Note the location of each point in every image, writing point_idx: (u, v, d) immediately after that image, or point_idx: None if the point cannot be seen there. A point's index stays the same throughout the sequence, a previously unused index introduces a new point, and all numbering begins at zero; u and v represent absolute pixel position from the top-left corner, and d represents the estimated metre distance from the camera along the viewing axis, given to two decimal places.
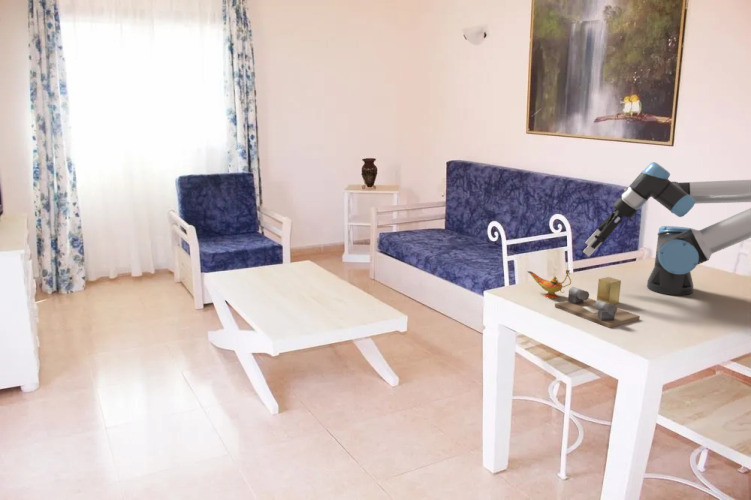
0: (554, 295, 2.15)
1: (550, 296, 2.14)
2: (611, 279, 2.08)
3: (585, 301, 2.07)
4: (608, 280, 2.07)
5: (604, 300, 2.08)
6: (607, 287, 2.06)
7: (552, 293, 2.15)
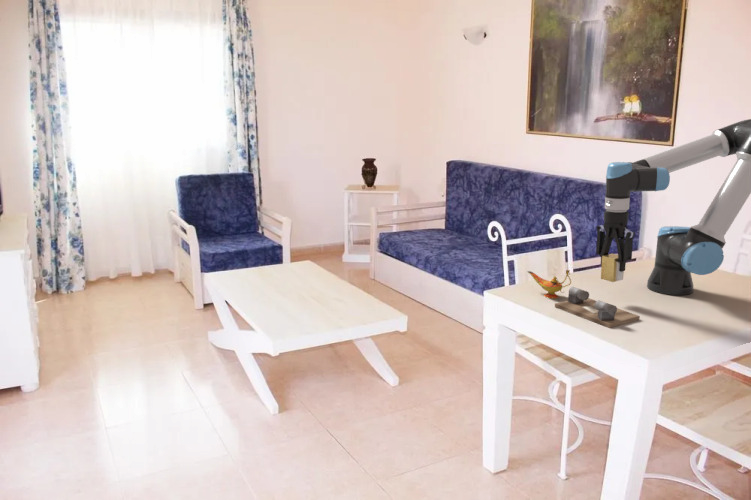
0: (554, 295, 2.15)
1: (550, 296, 2.14)
2: (615, 255, 2.06)
3: (585, 301, 2.07)
4: (612, 256, 2.05)
5: (608, 277, 2.06)
6: (611, 263, 2.04)
7: (552, 293, 2.15)
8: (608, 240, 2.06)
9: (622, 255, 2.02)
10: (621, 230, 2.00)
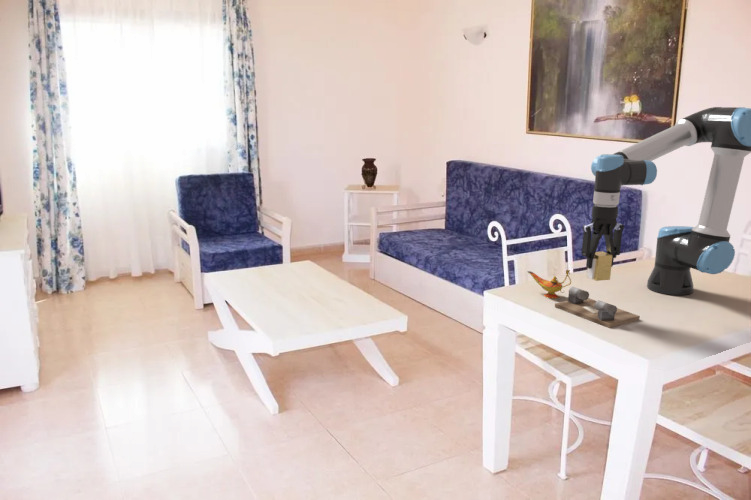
0: (554, 295, 2.15)
1: (550, 296, 2.14)
2: (599, 253, 1.95)
3: (585, 301, 2.07)
4: (603, 254, 1.94)
5: (605, 276, 1.94)
6: (609, 261, 1.93)
7: (552, 293, 2.15)
8: None
9: None
10: (615, 224, 1.92)
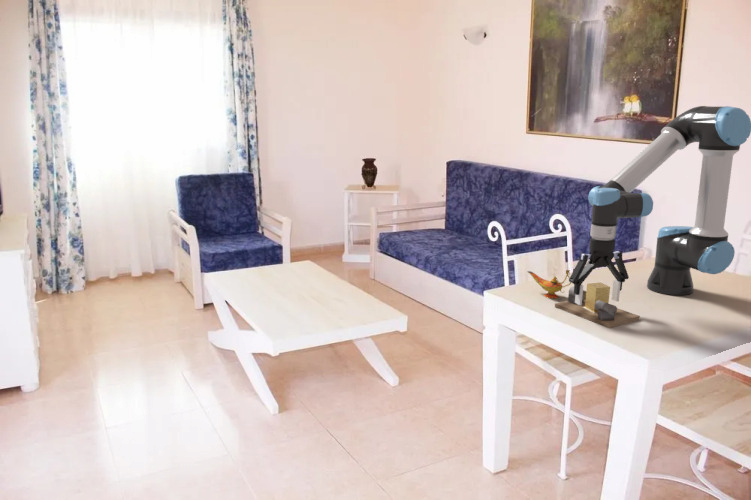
0: (554, 295, 2.15)
1: (550, 296, 2.14)
2: (597, 284, 1.98)
3: None
4: (601, 286, 1.96)
5: None
6: (606, 292, 1.96)
7: (552, 293, 2.15)
8: None
9: None
10: (612, 256, 1.95)
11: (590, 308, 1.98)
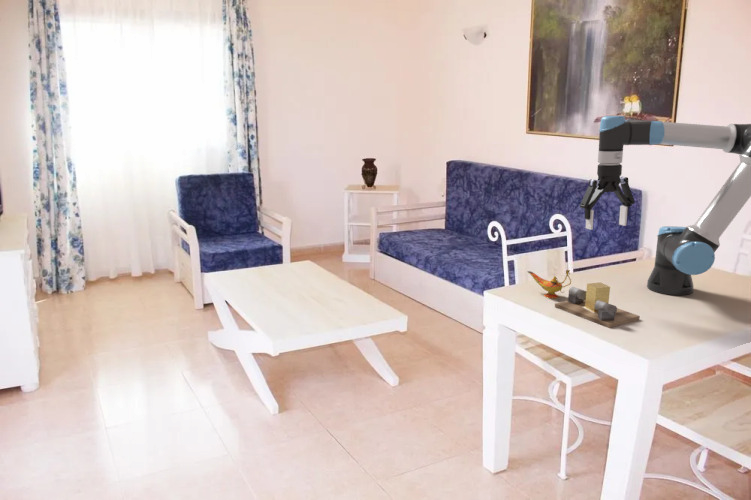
0: (554, 295, 2.15)
1: (550, 296, 2.14)
2: (597, 284, 1.98)
3: None
4: (601, 286, 1.96)
5: None
6: (606, 292, 1.96)
7: (552, 293, 2.15)
8: None
9: None
10: (619, 181, 2.04)
11: (590, 308, 1.98)
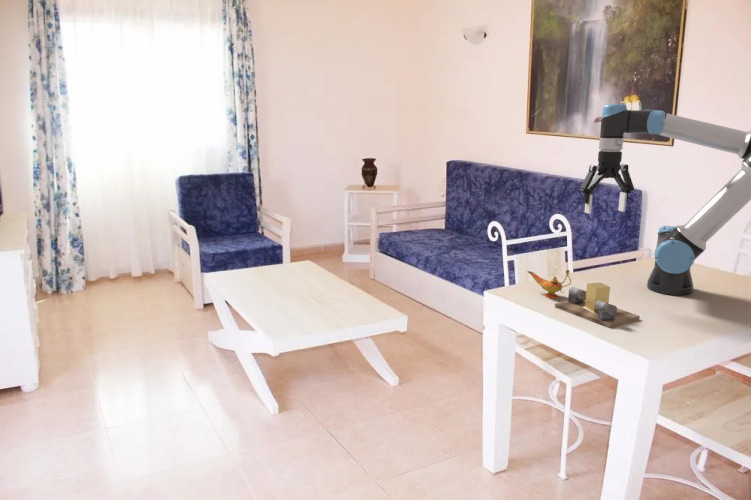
0: (554, 295, 2.15)
1: (550, 296, 2.14)
2: (597, 284, 1.98)
3: None
4: (601, 286, 1.96)
5: None
6: (606, 292, 1.96)
7: (552, 293, 2.15)
8: None
9: None
10: (619, 168, 2.11)
11: (590, 308, 1.98)
